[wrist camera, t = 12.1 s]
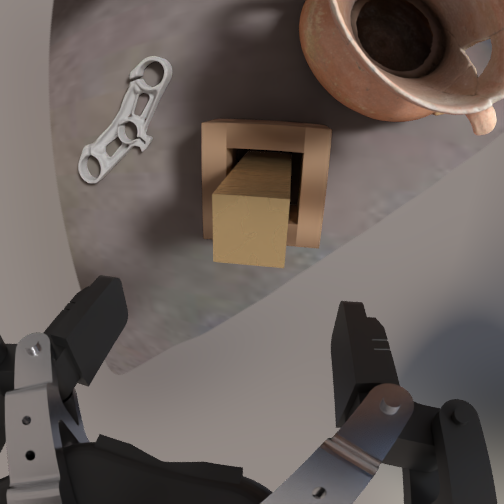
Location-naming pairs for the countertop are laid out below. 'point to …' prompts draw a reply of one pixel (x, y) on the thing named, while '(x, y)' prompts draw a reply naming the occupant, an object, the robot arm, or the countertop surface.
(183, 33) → the countertop surface
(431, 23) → the ceramic jug
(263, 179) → the tan wooden square peg
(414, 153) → the countertop surface
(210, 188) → the walnut block
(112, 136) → the bracket
